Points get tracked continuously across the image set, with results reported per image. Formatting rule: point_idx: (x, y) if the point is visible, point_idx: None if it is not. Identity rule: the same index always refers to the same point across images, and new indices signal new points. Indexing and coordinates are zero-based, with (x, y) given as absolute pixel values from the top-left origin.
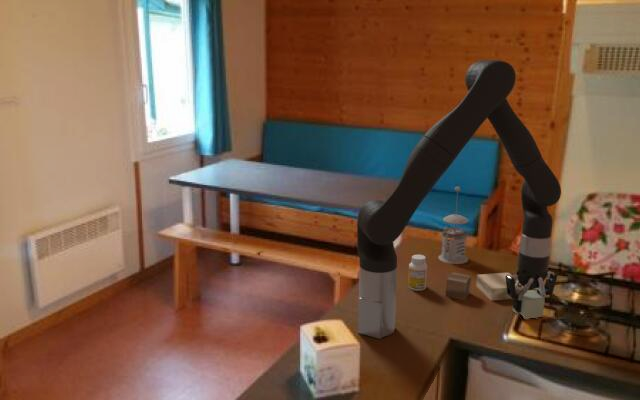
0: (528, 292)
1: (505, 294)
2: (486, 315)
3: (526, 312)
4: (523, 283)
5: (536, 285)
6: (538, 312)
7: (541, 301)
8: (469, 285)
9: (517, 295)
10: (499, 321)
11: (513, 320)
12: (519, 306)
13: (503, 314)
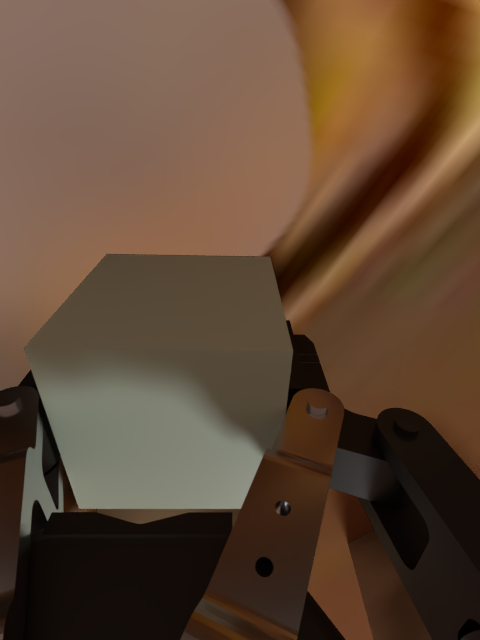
0: (150, 481)
1: (218, 511)
2: (450, 366)
3: (255, 281)
4: (324, 631)
5: (65, 559)
6: (136, 274)
7: (81, 329)
8: (381, 591)
9: (344, 442)
10: (438, 283)
11: (335, 275)
12: (295, 348)
13: (341, 357)
